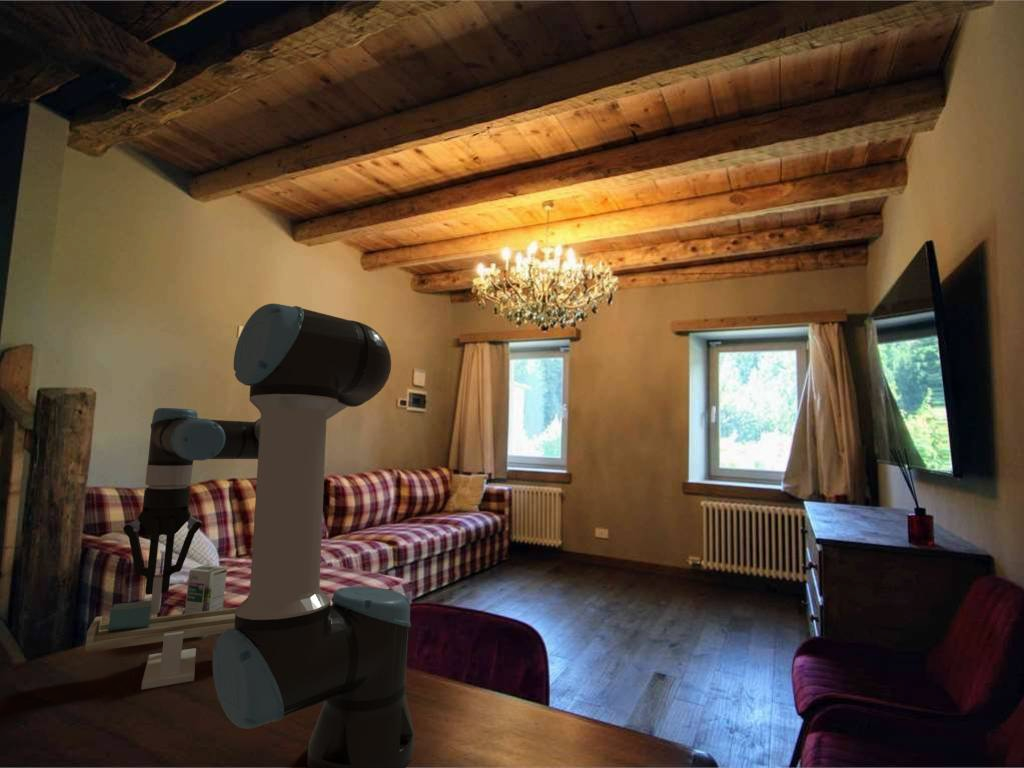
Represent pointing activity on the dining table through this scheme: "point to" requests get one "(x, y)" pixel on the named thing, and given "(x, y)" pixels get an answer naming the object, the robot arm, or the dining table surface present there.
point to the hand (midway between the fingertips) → (155, 610)
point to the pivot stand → (170, 663)
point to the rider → (130, 616)
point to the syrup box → (205, 589)
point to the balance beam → (161, 629)
